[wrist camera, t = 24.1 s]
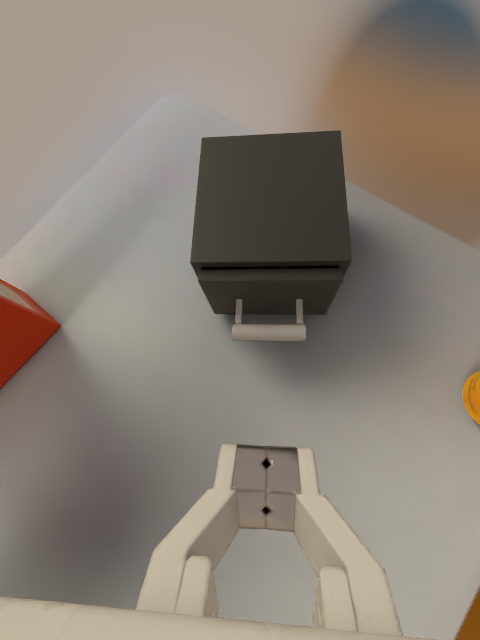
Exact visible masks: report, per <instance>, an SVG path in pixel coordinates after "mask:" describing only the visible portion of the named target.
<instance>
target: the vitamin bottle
mask: <svg viewBox="0 0 480 640" xmlns="http://www.w3.org/2000/svg"><path fill="white" fill-rule="evenodd" d="M462 398H463V403H464V406H465V408H466V410H467V412H468V414H469V415H470V416H471V418H472V419H473V420H474V421H475V422H476V423H477V424H479V425H480V371H478V372H476V373H474V374H472V375H471V376H470V377H469V378H468V379H467V380H466V382H465V384H464V386H463V391H462Z"/></svg>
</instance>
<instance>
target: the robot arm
mask: <svg viewBox="0 0 480 640" xmlns="http://www.w3.org/2000/svg"><path fill="white" fill-rule="evenodd" d="M239 528H248V529H269V530H279V531H289V532H294V535H295V537H296V539H297V540H298V542H299V544H300V546H301V548H302V549H303V551H304V553H305V555H306V557H307V558H308V560H309V562H310V564H311V566H312V567H313V569H314V571H315V573H316V575H317V576H318V578H319V579H318V586H317V593H316V600H315V606H314V613H313V623H314V627H306V626H296V625H286V624H276V623H266V622H256V621H246V620H236V619H226V618H217V614H218V604H217V597H216V590H215V583H214V576H213V571H214V569H215V567H216V566H217V564H218V563H219V561H220V559H221V558H222V556H223V555H224V553H225V551H226V550H227V548H228V547H229V545H230V544H231V542H232V540H233V539H234V537H235V536H236V534H237V532H238V531H239ZM0 640H436V639H426V638H416V637H406V636H403V634H402V630H401V627H400V623H399V619H398V616H397V612H396V609H395V605H394V601H393V598H392V594H391V591H390V587H389V583H388V580H387V576H386V573H385V569H384V568H383V567H382V566H381V564H380V563H379V562H378V561H377V559H376V558H375V557H374V556H373V554H372V553H371V552H370V551H369V549H368V548H367V547H366V546H365V545H364V543H363V542H362V541H361V540H360V538H359V537H358V536H357V535H356V533H355V532H354V531H353V530H352V528H351V527H350V526H349V525H348V523H347V522H346V521H345V520H344V518H343V517H342V516H341V515H340V513H339V512H338V511H337V510H336V508H335V507H334V506H333V505H332V503H331V502H330V501H329V500H328V498H327V497H326V496H324V495H320V489H319V482H318V476H317V469H316V462H315V456H314V450H313V448H305V447H297V448H296V447H284V446H253V445H239V444H222V446H221V448H220V453H219V459H218V465H217V470H216V476H215V481H214V487H213V489H208V490H207V491H206V492H205V493H204V494H203V496H202V497H201V498H200V499H199V500H198V501H197V502H196V503H195V505H194V506H193V507H192V508H191V509H190V510H189V511H188V512H187V513H186V515H185V516H184V517H183V518H182V519H181V520H180V521H179V522H178V524H177V525H176V526H175V527H174V528H173V529H172V530H171V531H170V532H169V534H168V535H167V536H166V537H165V538H164V539H163V540H162V541H161V543H160V544H159V545H158V546H157V547H156V548H155V549H154V550H153V553H152V557H151V560H150V563H149V566H148V570H147V573H146V576H145V579H144V583H143V586H142V589H141V592H140V596H139V599H138V602H137V605H136V609H125V608H115V607H105V606H95V605H85V604H75V603H65V602H55V601H45V600H34V599H24V598H14V597H4V596H0Z"/></svg>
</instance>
